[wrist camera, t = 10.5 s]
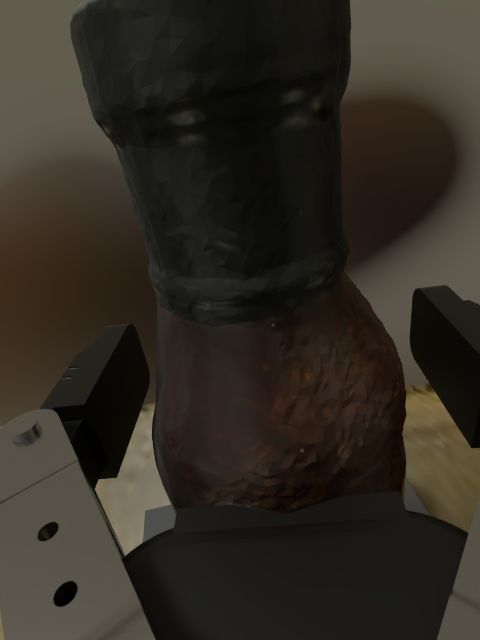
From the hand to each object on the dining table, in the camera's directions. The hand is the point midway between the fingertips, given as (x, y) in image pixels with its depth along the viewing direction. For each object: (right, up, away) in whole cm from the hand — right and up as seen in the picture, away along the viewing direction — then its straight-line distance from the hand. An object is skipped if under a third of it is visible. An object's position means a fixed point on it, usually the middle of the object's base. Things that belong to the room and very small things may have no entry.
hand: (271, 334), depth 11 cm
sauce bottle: (+2, -12, +4) cm, 13 cm away
